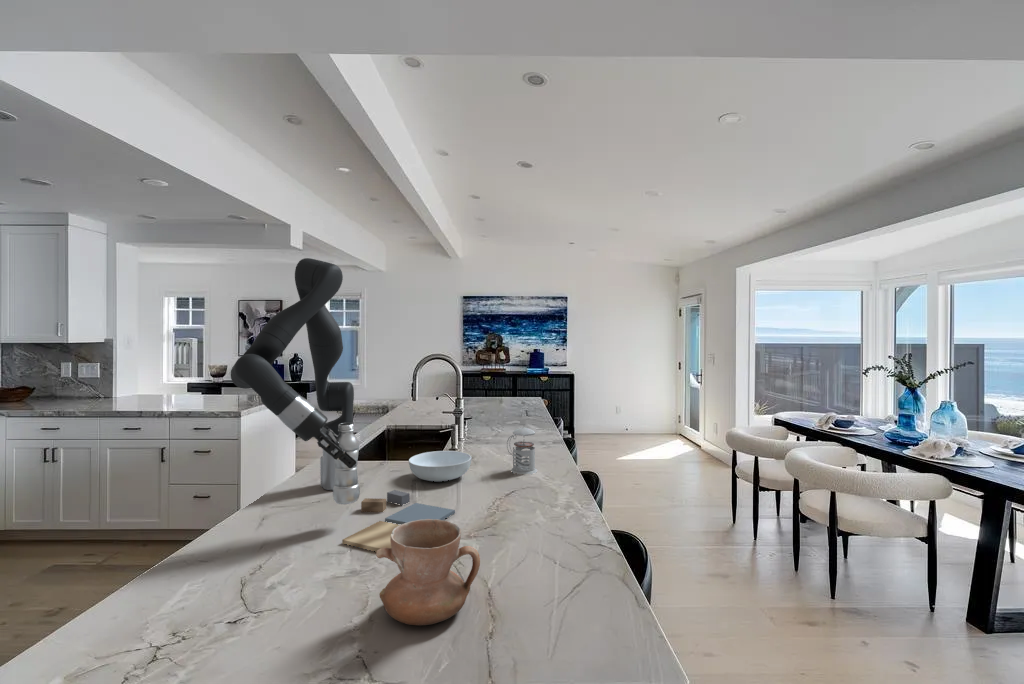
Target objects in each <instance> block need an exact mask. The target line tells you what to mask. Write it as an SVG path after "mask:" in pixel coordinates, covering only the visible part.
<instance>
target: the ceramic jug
mask: <svg viewBox="0 0 1024 684" xmlns="http://www.w3.org/2000/svg"><path fill="white" fill-rule="evenodd" d="M461 537H462V529H461V528H460V526H458V525H457V524H456V523H454V522H451V521H448V520H439V519H422V520H416V521H411V522H407V523H404V524H401V525H399V526H397V527H396V528H395V529H393V531H392V534H391V537H390V540H391V547H392V548H381V549H379V550H377V552H375V554H376V555H375V556H376V557H377V559H382V558H383V559H384V558H386V559H388V560H389V561H391V562H393V563H395V564H397V565H396V566H397V567H398V570H399V571H400V572H399V573H398V574H396V575H395V576H393V578H392V579H391V580H390V581H388V583H387V584H386V586H385V587H384V588H382V590H381V591H380V592H379V598H380V600H381V602H382V604H383V608H384V609H385V612H386V613H387V614H388V615H389V616H390V617H391V618H392V619H394V620H395V621H398V622H399V623H401V624H405V625H410V626H428V625H434V624H435V625H436V624H438V623H440V622H444V621H446V620H448V619H450V618H451V617H453V616H455V615H456V614H457V613H458V612H460V610H461V609H462V608H463V607H464V605H465V603H466V600H467V597H468V596H469V593H470V591H471V586H472V584H473V582H474V580H475V579H476V577H477V575H478V573H479V570H480V566H481V557H480V553H479V552H478V550H477V549H476V547H472V546H469V545H464V546H462V547H460V542H461ZM465 555H469V556H470V557H471V559H472V561H471V562H472V566H471V569H470V571H469V574H468V576H467V578H466V580H465V581H464V580H463V579H462V577H460V575H458V574H457V573H456V572H454V571H453V570H451V568H452V565H453V564H454V563H455V561H457V560H458V559H459V558H461V557H463V556H465Z"/></svg>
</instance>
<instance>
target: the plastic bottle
mask: <svg viewBox="0 0 1024 684" xmlns="http://www.w3.org/2000/svg"><path fill="white" fill-rule="evenodd" d="M338 432H339V435H338V436H337V438H336V439H337V440H338V441H339V442H340V447H341V448H342V449H344V450H345V451H346V452H347V453H348V454H349V455H350V456H351V457H352V458H353V459H355V460H356V464H355V465H354V466H353V467H352V468H349V467H347V466H346V465H345V464H344V463H343V462H342V461H340V460H338V459H337V460H336V459H334V460H335V483H334V488H333V490H332V497H333V498H332V499H333V501H334V502H335V503H336V505H337V504H338V505H349V504H353V503H355V502H357V501H358V500H359V498H360V494H361V489H360V483H359V477H358V476H359V475H358V458H359V451H360V443H359V440H358V438H357V437H356V435H355V434H354V432H355V426H354V422H353V423H341V424H339V430H338ZM337 452H338V450H337V449H336V450H335V453H337Z"/></svg>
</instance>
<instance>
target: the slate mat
mask: <svg viewBox="0 0 1024 684" xmlns="http://www.w3.org/2000/svg"><path fill="white" fill-rule="evenodd" d="M454 513H455V514H456V509H451V508H446V507H441V506H440V507H439V506H435V505H430V504H424V503H417V502H415V503H413V504H410V505H409V506H407V507H405V508H403V509H401V510H398V511H397V512H394V513H393V514H390V515H389V516H387V517H385V518H384V522H385V521H387V522H392V523H396V524H404V523H407V522H411V521H416V520H422V519H439V520H444V519H445V518H447V517H448V518H450V517H451V516H450V515H452V514H453V515H455V514H454ZM453 515H452V516H453ZM449 516H450V517H449ZM448 518H447V519H448ZM445 520H446V519H445ZM445 520H444V521H445Z"/></svg>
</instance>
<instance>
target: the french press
mask: <svg viewBox="0 0 1024 684" xmlns="http://www.w3.org/2000/svg"><path fill="white" fill-rule="evenodd" d="M520 404H522V405H527V401H526V400H522V401H521V403H520ZM512 434H513V435H511V436H509V437H508V439H507V441H506V449H507V452H508V453H509V455H510V456H512V468H511V469H510V470H511V471H512V472H513V473H512V474H514V473H517V474H516V475H518V474H530V475H534V474H533V473H535V474H537V473H538V472H537V471H538V469H537V468H536V461H535V460H536V457H535V455H536V452H535V451H536V450H535V448H536V447H534V446H535V443H534V442H531V441H525V440H522V441H515V442H514V443H513V445H514V447H512V449H511V440H512V439H513V440H516V439H517V437H515V436H521V437H522V436H523V437H529V436H534V435H536V432H535V430H533V429H531V428H528V427H525V426H523V427H520V428H517V429H514V430H513V431H512ZM508 442H509V443H508ZM508 444H509V445H508ZM508 446H509V448H508ZM509 449H510V451H509ZM536 472H537V473H536Z"/></svg>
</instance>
